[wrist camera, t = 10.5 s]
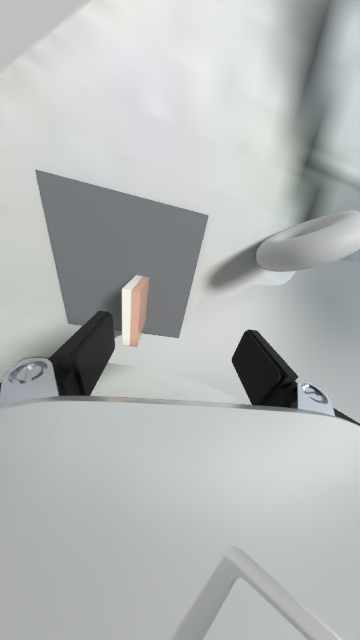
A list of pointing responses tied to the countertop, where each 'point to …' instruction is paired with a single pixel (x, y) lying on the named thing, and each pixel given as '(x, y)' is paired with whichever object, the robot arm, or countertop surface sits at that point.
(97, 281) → the mat
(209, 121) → the countertop surface
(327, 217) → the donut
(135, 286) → the tile
